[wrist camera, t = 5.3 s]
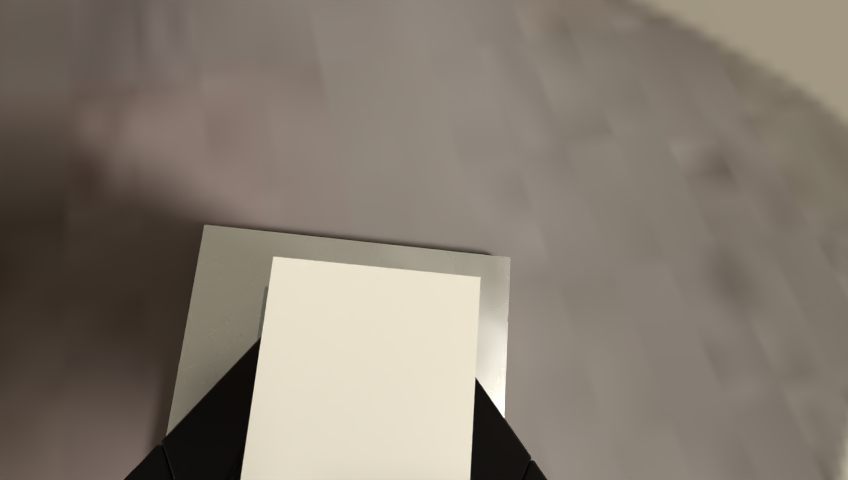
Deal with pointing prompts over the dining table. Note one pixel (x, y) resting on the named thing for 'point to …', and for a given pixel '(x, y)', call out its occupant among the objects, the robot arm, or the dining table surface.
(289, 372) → the cream rectangular block
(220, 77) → the dining table surface
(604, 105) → the dining table surface
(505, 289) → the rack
